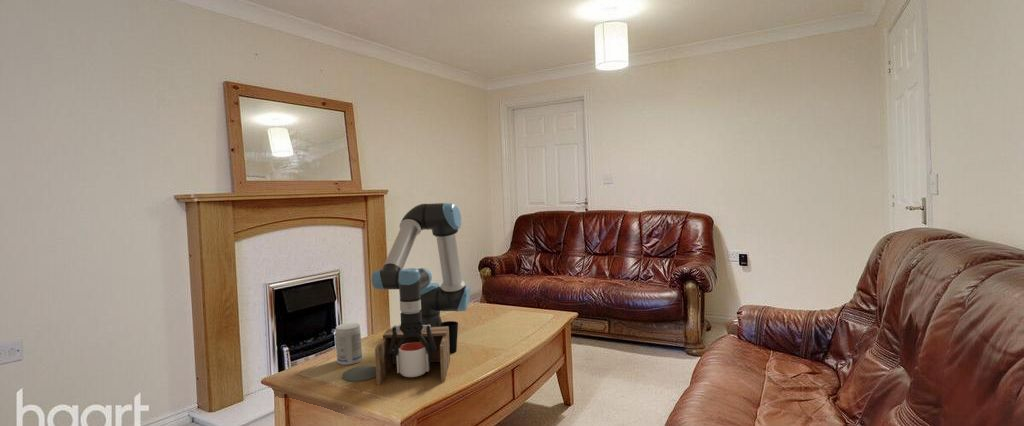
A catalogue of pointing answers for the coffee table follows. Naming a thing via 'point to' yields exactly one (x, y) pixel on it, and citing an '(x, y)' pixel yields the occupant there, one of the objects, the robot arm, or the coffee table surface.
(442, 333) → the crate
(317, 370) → the coffee table surface
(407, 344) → the cup
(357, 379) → the coaster
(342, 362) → the supplement tub
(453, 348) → the cup
